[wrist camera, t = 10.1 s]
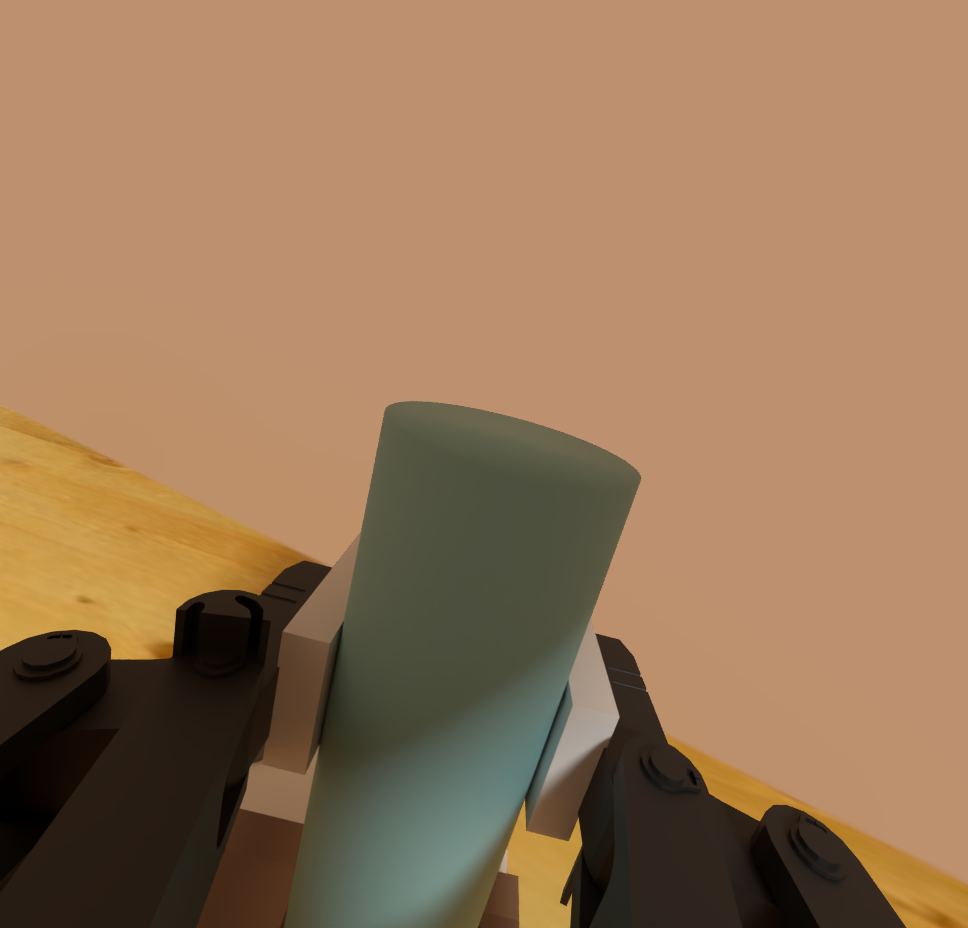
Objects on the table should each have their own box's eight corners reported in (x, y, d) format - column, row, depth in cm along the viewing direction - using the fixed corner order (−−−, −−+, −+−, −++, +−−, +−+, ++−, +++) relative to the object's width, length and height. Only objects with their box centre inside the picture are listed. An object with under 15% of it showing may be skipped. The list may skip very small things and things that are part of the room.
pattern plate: (503, 734, 24) (508, 715, 23) (499, 926, 16) (508, 902, 15) (200, 659, 23) (202, 640, 23) (47, 816, 16) (46, 790, 15)
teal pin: (491, 929, 11) (665, 468, 8) (369, 1156, 8) (586, 511, 5) (376, 812, 13) (479, 402, 10) (237, 954, 10) (325, 399, 6)
